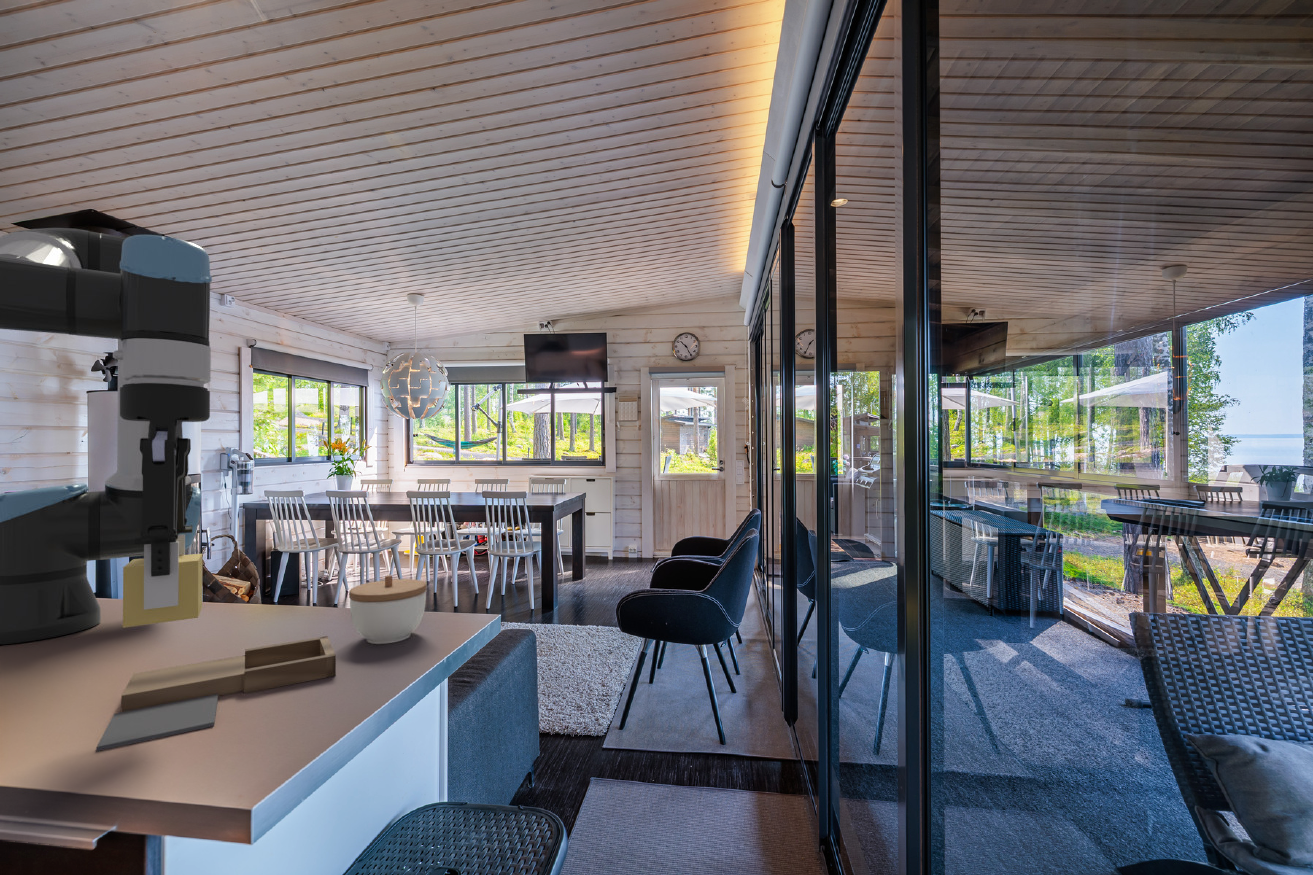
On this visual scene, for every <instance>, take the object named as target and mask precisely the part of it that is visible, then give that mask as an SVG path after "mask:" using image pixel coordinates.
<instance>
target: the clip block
mask: <svg viewBox="0 0 1313 875" xmlns="http://www.w3.org/2000/svg"><path fill="white" fill-rule="evenodd" d="M122 568H123V569H122V572H123V573H122V577H123V578H122V628H123V629H124V628H129V627H139V626H145V625H154V624H160V623H161V624H162V623H168V622H176V621H177V622H178V621H183V620H191V619H198V618H199V616H200V614H201V611H202V608H203V553H194V554H193V553H192V554H185V555H179V604H178V606H170V607H162V608H153V609H145V610H144V558H134V559H132V560H131V561H129V562H127V564H126V565H124V566H122Z"/></svg>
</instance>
